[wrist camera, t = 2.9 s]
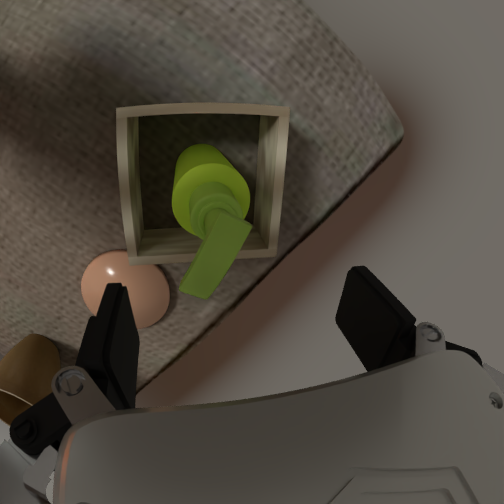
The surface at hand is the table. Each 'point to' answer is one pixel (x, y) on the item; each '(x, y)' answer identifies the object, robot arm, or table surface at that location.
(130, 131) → the open wooden box
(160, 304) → the peach oval pebble
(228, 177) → the soap dispenser
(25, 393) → the plant pot
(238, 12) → the table surface
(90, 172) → the table surface
